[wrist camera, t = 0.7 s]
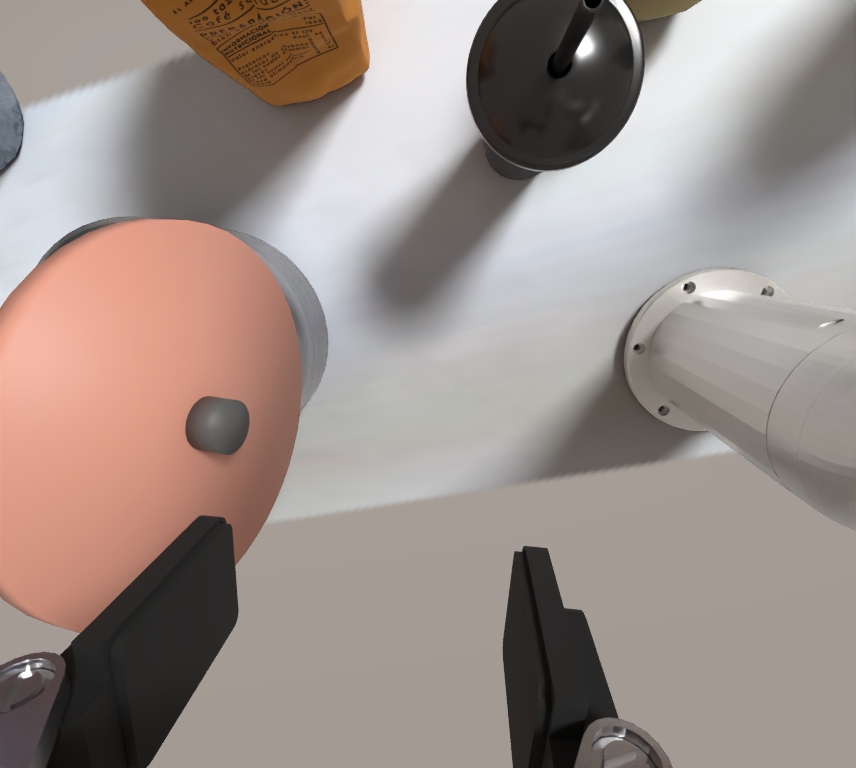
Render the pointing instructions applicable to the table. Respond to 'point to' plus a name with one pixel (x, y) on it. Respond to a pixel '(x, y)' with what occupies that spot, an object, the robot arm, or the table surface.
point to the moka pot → (9, 123)
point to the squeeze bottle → (658, 8)
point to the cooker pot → (294, 289)
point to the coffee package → (274, 42)
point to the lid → (137, 408)
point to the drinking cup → (553, 81)
